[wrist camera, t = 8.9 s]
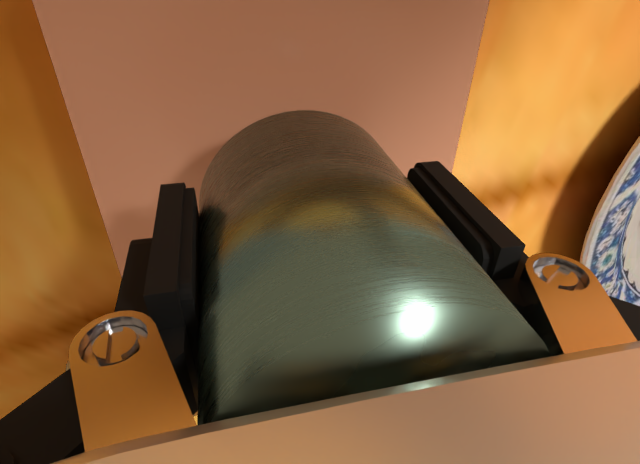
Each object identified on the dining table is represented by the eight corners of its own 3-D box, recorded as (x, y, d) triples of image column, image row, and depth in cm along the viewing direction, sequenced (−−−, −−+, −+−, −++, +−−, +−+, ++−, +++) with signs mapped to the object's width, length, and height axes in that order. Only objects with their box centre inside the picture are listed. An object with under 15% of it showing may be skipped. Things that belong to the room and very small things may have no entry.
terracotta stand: (437, -60, 15) (501, -56, 12) (395, 226, 22) (428, 278, 19) (58, -68, 13) (10, -66, 9) (145, 254, 19) (135, 319, 16)
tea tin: (403, 104, 11) (609, 279, 6) (382, 268, 14) (499, 486, 9) (183, 116, 10) (162, 348, 4) (212, 291, 13) (220, 557, 8)
